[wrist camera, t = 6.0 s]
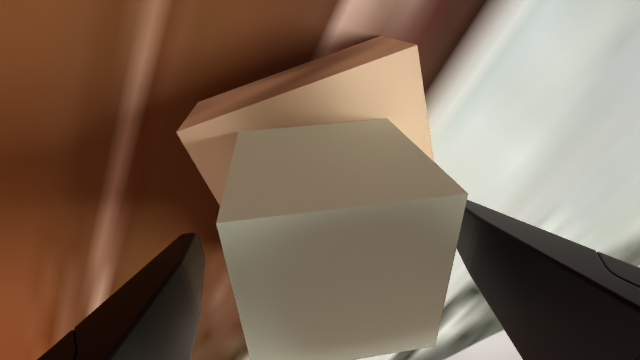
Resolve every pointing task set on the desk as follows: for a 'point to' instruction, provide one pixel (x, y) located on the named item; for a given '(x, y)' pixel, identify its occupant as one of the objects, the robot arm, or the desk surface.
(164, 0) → the desk surface
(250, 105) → the oak block
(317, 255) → the cube
